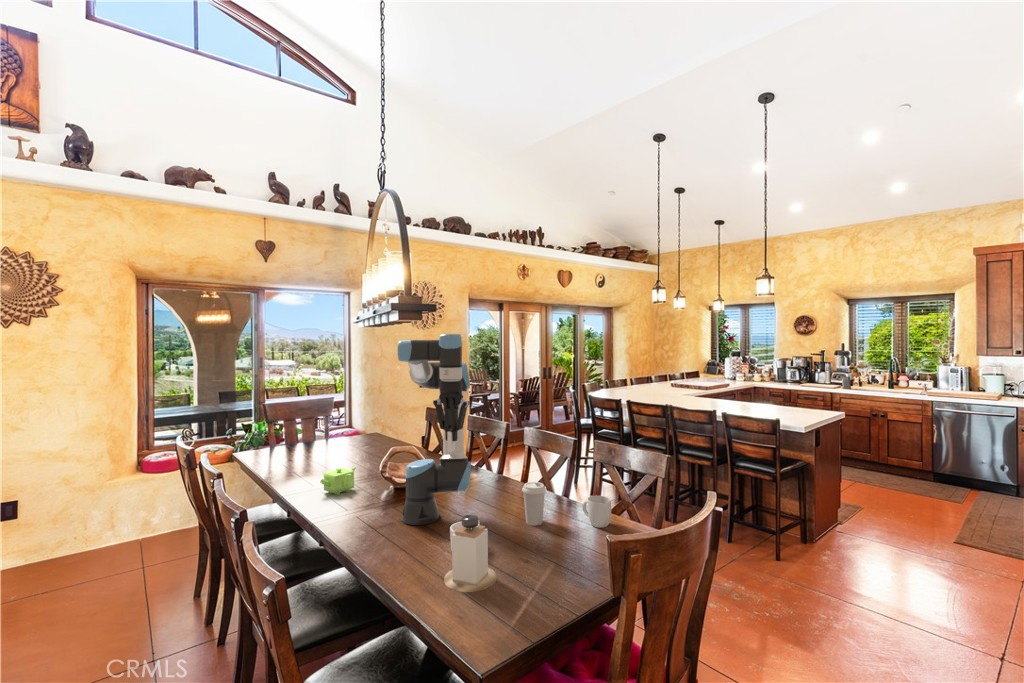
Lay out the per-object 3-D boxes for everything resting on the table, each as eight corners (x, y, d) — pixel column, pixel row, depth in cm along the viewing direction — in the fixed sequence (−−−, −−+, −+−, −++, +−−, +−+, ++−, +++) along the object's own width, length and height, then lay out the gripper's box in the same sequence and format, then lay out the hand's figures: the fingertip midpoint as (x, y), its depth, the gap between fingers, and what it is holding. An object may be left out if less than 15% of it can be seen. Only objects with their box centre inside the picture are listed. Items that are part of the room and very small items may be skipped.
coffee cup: (544, 528, 181) (544, 489, 181) (520, 526, 183) (520, 488, 183) (547, 518, 190) (547, 481, 190) (524, 517, 192) (524, 480, 192)
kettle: (357, 486, 235) (357, 463, 234) (353, 495, 221) (353, 471, 220) (326, 488, 232) (325, 465, 231) (320, 497, 218) (319, 473, 218)
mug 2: (615, 525, 183) (615, 499, 183) (601, 531, 177) (601, 505, 177) (590, 515, 193) (590, 491, 193) (576, 521, 187) (575, 496, 187)
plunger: (456, 571, 141) (456, 520, 141) (466, 562, 146) (465, 513, 146) (474, 574, 139) (474, 523, 138) (483, 565, 144) (483, 515, 144)
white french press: (452, 581, 140) (451, 531, 140) (465, 569, 148) (464, 521, 148) (476, 586, 137) (475, 535, 137) (488, 573, 145) (487, 525, 144)
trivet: (433, 588, 138) (433, 585, 138) (460, 563, 153) (460, 561, 153) (482, 599, 132) (482, 596, 132) (504, 572, 147) (504, 570, 147)
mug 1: (468, 559, 156) (467, 535, 156) (443, 552, 161) (443, 528, 161) (491, 544, 167) (490, 521, 167) (467, 537, 173) (467, 516, 173)
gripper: (428, 380, 155) (428, 451, 155) (462, 381, 150) (463, 454, 150) (439, 378, 162) (440, 446, 162) (473, 379, 157) (474, 449, 157)
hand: (451, 450), depth 156 cm, fingers closed
